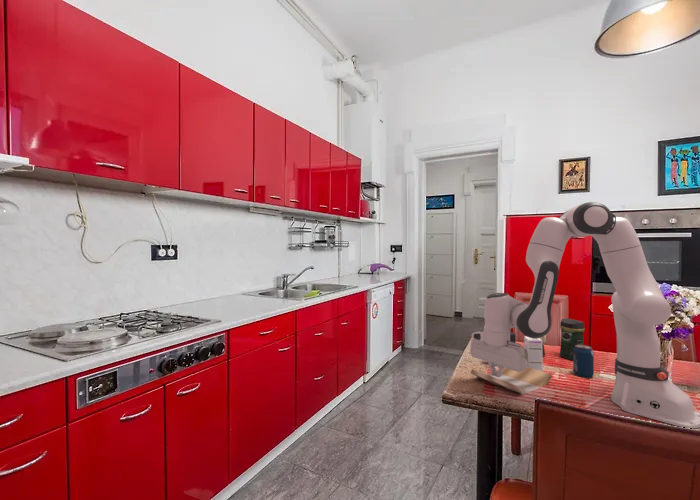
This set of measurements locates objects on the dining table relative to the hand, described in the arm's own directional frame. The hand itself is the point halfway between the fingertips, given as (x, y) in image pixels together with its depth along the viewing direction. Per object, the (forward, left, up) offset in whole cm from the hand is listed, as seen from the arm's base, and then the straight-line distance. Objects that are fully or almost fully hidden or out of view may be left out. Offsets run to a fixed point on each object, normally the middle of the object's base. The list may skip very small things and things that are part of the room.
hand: (496, 375), depth 122 cm
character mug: (+15, -55, -6) cm, 58 cm away
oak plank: (+1, -19, -4) cm, 19 cm away
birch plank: (+1, -2, -4) cm, 4 cm away
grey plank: (+1, -10, -6) cm, 12 cm away
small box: (+25, -41, -6) cm, 49 cm away
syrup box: (+4, -31, -6) cm, 32 cm away
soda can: (-9, -45, -6) cm, 47 cm away
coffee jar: (+4, -65, -6) cm, 66 cm away
